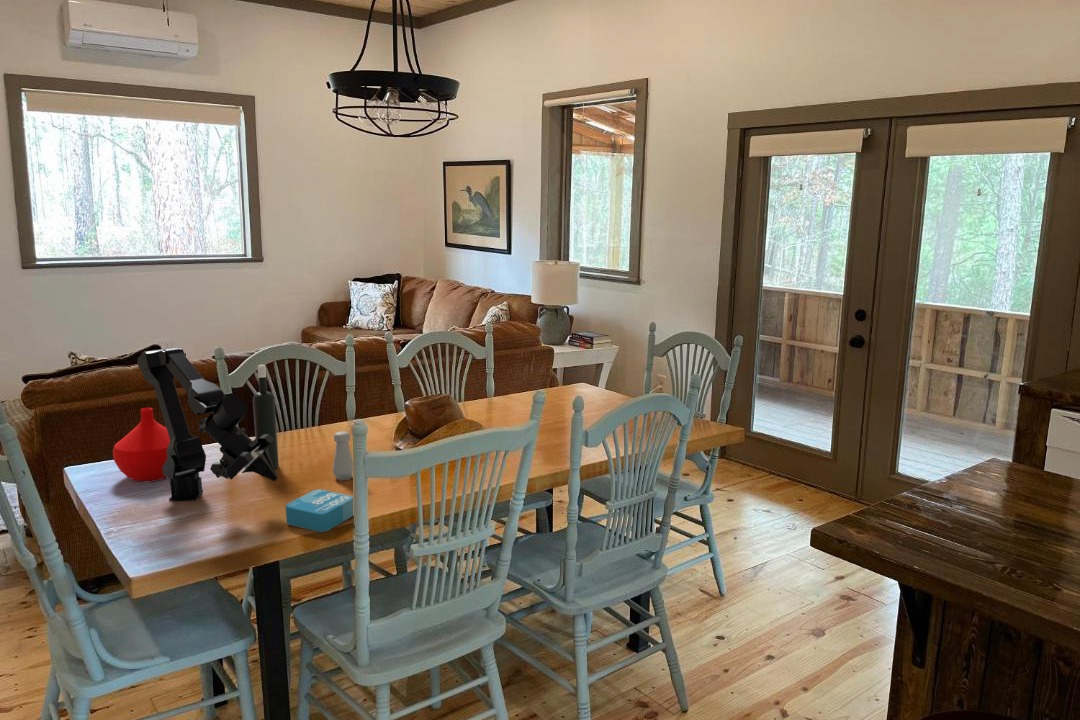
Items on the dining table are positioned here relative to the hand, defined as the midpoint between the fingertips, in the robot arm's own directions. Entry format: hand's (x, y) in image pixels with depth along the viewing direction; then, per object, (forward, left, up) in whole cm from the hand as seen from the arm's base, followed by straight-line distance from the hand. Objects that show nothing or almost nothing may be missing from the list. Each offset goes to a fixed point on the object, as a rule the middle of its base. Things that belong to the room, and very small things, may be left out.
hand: (276, 479), depth 195 cm
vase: (-42, +31, -9) cm, 53 cm away
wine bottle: (-12, +36, -9) cm, 39 cm away
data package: (+6, -1, -6) cm, 8 cm away
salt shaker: (+11, +26, -9) cm, 30 cm away
